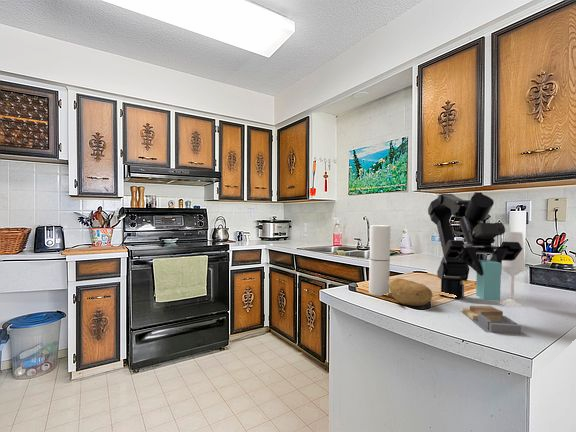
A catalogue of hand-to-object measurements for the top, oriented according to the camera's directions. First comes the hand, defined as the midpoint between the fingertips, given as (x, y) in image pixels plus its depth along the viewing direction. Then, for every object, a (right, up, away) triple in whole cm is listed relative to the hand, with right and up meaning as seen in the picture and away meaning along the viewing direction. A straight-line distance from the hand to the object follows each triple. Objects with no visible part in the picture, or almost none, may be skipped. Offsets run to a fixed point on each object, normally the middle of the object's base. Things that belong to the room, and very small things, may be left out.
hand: (490, 275), depth 81 cm
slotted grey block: (0, -14, 0) cm, 14 cm away
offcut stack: (0, -12, +4) cm, 13 cm away
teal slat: (0, -7, +1) cm, 7 cm away
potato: (-15, -13, +16) cm, 26 cm away
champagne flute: (+19, -14, +19) cm, 30 cm away
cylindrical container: (-21, -13, +30) cm, 39 cm away
